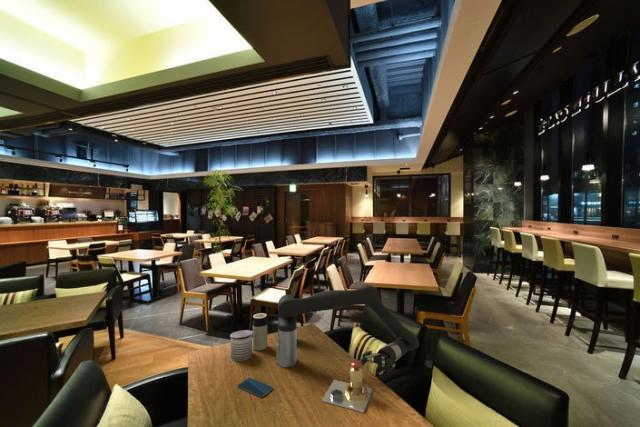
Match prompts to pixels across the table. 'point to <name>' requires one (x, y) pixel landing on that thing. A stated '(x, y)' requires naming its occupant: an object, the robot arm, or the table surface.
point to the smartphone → (255, 387)
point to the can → (241, 345)
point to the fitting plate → (347, 396)
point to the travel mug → (259, 332)
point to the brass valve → (356, 377)
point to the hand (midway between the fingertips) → (368, 367)
